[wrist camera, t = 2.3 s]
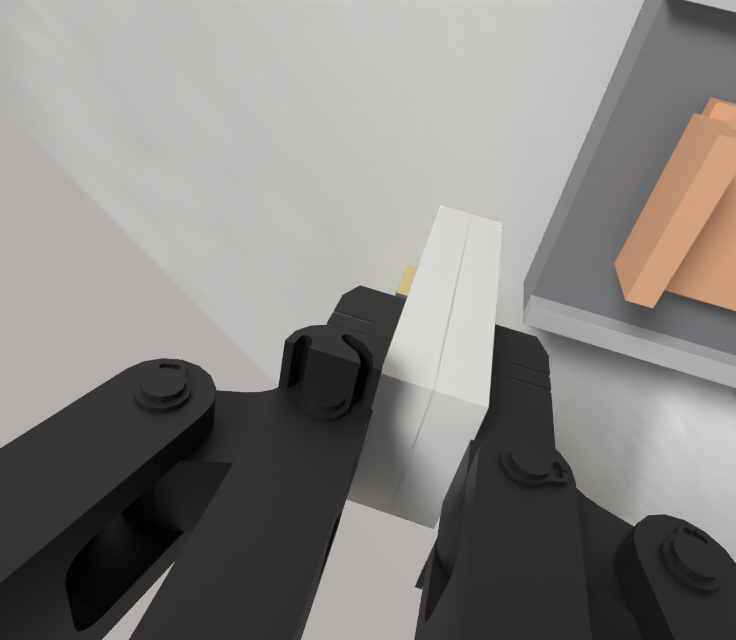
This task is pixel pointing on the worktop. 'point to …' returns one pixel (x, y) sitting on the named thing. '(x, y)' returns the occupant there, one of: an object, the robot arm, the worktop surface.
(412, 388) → the robot arm
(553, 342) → the worktop surface
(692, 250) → the shutter
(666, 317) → the grey slab
